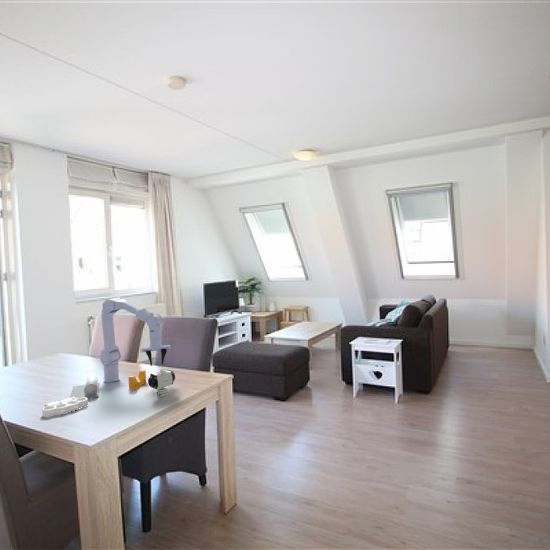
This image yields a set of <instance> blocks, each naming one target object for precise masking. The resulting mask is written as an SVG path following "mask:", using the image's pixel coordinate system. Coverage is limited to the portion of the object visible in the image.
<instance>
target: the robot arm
mask: <svg viewBox="0 0 550 550" xmlns="http://www.w3.org/2000/svg"><path fill="white" fill-rule="evenodd" d="M121 310H125V311H127V312H129V313H131V314H133V315H135V318H137V319H138V320H139V321H142V322H144V323H146V325H147V326H148V331H149V333H148V334H149V346H147V347H141V348H140V351H141V353H145V354H146V355H147V358H148V360H149V364H150V365H149V366H153V362H152V361H153V360H152V358H153V357H152V352H154V351H160V354H161V355H160V356H161V359H160V360H161V365H164V361H165V357H166V354H167V350H171V347H172V345H171V344H165V345H164V344H162V327H161V326H162V324H163V317H162V316H161V315H160V314H159V313H156V314H155V313H154V312H152V311H149V310H147V308H145V307H141V308H139V307H137V306H135V305H133V304H132V303H131V302H128V301H127V300H126V299H124V298H122V297H115V298H107V299H106V300H105V301H103V303H102V309H101V323H102V325H101V326H102V335H103V336H102V337H103V347H102V349H101V350H100V356H99V360H100V362H101V364H102V366H103V376H104V377H103V383H105V382H106V383H111V382H118V381H119V382H120V379H121V378H120V374H119V373H120V372H119V371H120V370H119V361H120V359H121V356H122V353H121V351H120V348H119V346H118V345H116V336H115V326H114V315H115V314H116V313H117V312H119V311H121Z"/></svg>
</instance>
